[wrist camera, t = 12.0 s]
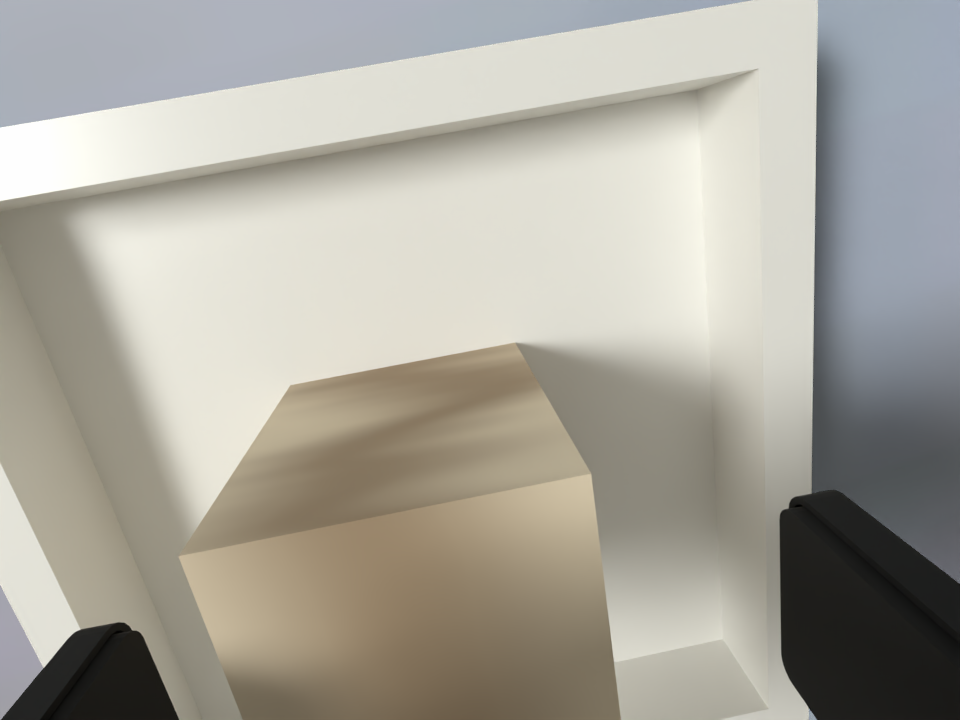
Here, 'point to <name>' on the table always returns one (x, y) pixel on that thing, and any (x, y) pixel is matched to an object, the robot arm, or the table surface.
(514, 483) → the wooden block
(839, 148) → the table surface
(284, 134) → the tray
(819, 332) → the table surface
